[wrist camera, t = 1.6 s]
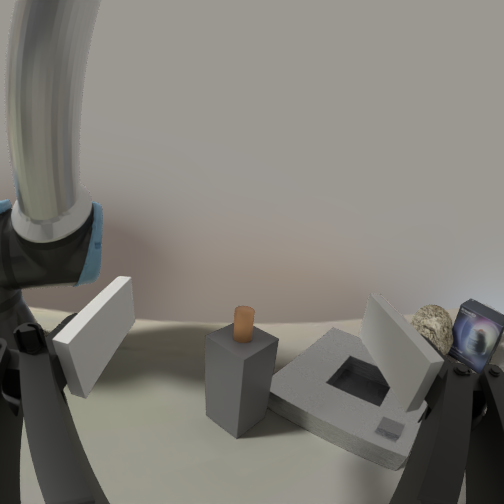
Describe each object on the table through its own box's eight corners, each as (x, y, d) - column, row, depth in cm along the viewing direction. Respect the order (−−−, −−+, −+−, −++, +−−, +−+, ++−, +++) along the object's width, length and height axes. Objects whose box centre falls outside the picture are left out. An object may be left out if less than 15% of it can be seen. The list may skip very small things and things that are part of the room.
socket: (257, 401, 32) (260, 381, 31) (329, 341, 47) (333, 324, 46) (395, 470, 20) (410, 453, 19) (429, 380, 35) (438, 363, 34)
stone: (422, 373, 37) (444, 322, 34) (397, 343, 46) (412, 296, 43) (446, 367, 37) (467, 319, 35) (420, 340, 47) (436, 295, 44)
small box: (441, 351, 43) (459, 303, 40) (453, 342, 45) (470, 297, 42) (479, 376, 33) (503, 325, 31) (489, 363, 36) (510, 317, 33)
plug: (205, 415, 29) (205, 308, 25) (234, 397, 33) (243, 294, 29) (236, 438, 26) (246, 331, 22) (264, 416, 30) (283, 311, 25)
